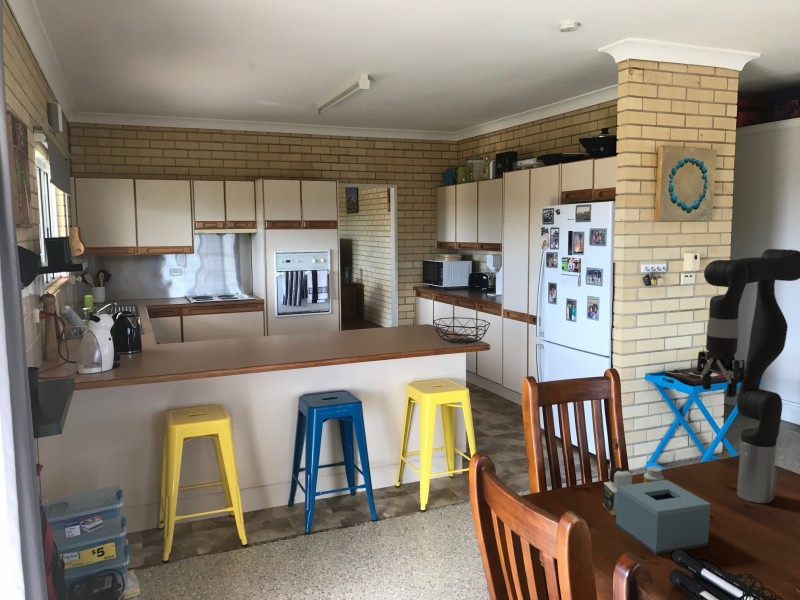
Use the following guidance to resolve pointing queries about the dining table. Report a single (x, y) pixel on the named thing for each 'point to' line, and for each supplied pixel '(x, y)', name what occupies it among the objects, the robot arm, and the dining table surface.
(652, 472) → the supplement bottle
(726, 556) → the dining table surface
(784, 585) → the dining table surface
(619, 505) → the box
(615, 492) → the medicine bottle
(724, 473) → the dining table surface
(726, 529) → the dining table surface
